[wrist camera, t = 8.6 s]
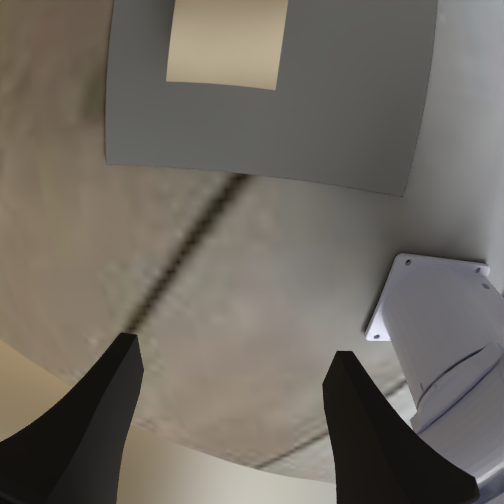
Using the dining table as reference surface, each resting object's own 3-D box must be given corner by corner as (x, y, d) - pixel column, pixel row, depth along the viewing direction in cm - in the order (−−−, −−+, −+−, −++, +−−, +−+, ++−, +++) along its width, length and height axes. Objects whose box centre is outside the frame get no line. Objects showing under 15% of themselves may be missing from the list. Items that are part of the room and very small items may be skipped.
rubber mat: (434, -36, 11) (438, -38, 10) (399, 194, 19) (402, 197, 18) (134, -77, 10) (131, -80, 9) (109, 162, 18) (106, 164, 17)
